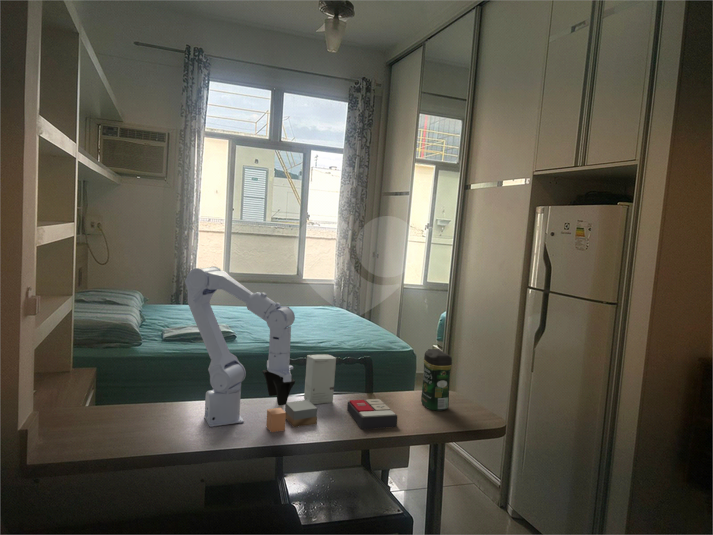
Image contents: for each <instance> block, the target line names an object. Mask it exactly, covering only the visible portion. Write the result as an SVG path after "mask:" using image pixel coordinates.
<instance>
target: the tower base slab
mask: <svg viewBox="0 0 713 535" xmlns="http://www.w3.org/2000/svg"><path fill="white" fill-rule="evenodd" d="M285 412H286V411H285ZM286 420H288V421H287V422H288V423H289V424H290V425H291V426H292V427H293V428H297V427H298V426H299V427H305V426H311V425H317V424H318V416H317V417H311V418H304V419H297V420H293V419H292V418H291V417H290V416H289V415H288V413H287V412H286Z"/></svg>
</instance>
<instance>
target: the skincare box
mask: <svg viewBox="0 0 713 535" xmlns="http://www.w3.org/2000/svg"><path fill="white" fill-rule="evenodd" d="M336 364H337V357H335V356H333V355H331V354H307V355H306V366H305V367H306V368H305V381H304V394H303V399H304V400H308V401H310V402H311V403H312V404H313V405H314V406H315V405H320V404H321V405H322V404H329V403H333V402H334V391H335V390H334V389H335V376H336V367H337V366H336Z"/></svg>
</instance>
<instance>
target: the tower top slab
mask: <svg viewBox="0 0 713 535" xmlns="http://www.w3.org/2000/svg"><path fill="white" fill-rule="evenodd" d="M284 406H285V407H284V411H285V412H287V413H288V415H289V416H290V417H291V418H292V419H293V420H297V419H304V418H311V417H317V418H318V407H316V406H315V404H314V405H313V404H312V403H311V402H310V401H308V400H305V399H304V400H297V401H289V402H288V401H287V403H286V405H284Z"/></svg>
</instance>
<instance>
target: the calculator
mask: <svg viewBox="0 0 713 535" xmlns="http://www.w3.org/2000/svg"><path fill="white" fill-rule="evenodd" d="M346 407H347V409H346V410H347V411H348V412H347V413H349V414H350V416H351V418H353V420H354V421H355V422H356V424H357V426H358V427H359V428H360V430H373V429H375V428H378V429H387V428H386V427H392V428H397V427H398V415H397V414H396V413H395V412H394V411H393V410H391V408H390V407H389V406H388V405H387V404H385V402H384V401H382V400H381V399H380V398H371V399H370V398H369V399H365V400H364V399H351V400H349V401H347V406H346ZM375 430H376V429H375Z"/></svg>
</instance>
